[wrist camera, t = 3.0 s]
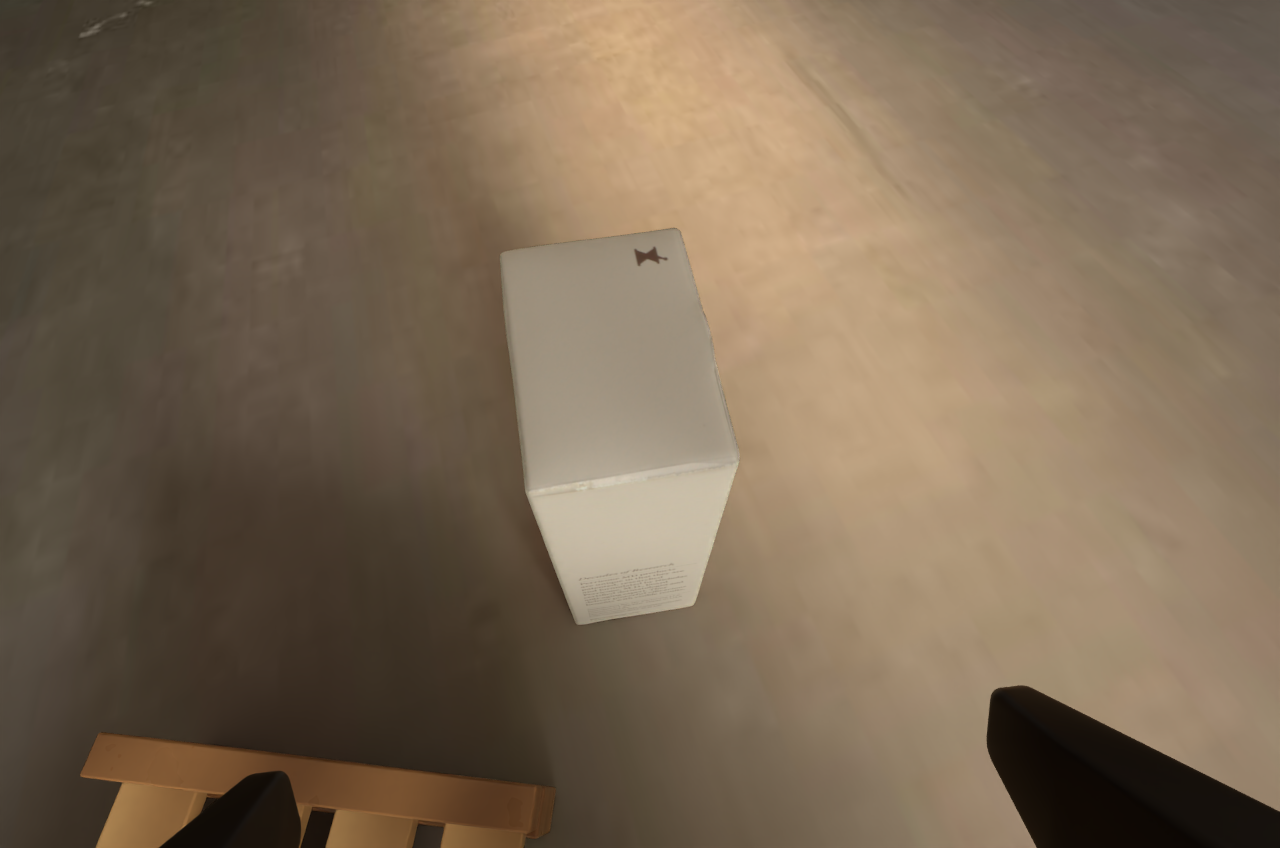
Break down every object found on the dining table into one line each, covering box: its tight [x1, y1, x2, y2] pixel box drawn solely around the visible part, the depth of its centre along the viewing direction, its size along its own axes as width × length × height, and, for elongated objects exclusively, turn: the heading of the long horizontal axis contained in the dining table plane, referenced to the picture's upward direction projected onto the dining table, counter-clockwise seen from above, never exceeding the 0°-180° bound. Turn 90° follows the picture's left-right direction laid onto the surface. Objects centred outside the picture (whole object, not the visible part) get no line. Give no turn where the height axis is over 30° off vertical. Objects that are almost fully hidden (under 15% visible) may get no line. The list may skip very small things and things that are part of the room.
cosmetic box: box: [500, 228, 740, 625], centre depth 19 cm, size 6×4×12 cm
